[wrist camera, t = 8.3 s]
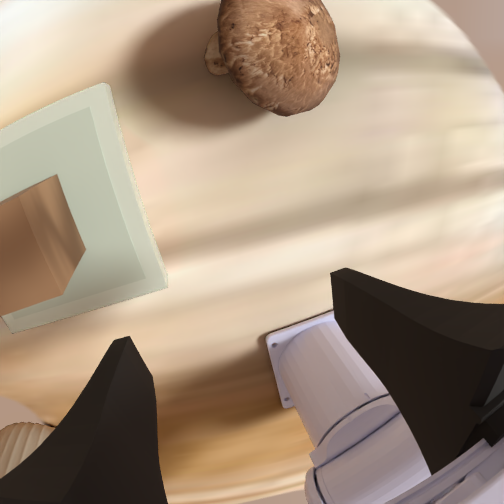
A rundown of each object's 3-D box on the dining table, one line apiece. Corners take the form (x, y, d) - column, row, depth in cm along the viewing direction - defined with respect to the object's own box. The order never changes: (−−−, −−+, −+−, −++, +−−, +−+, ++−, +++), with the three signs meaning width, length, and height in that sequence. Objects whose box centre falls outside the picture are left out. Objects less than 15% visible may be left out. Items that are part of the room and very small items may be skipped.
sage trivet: (167, 273, 20) (167, 288, 18) (19, 319, 18) (11, 334, 17) (109, 85, 15) (103, 81, 13) (-46, 164, 13) (-61, 169, 12)
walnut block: (86, 249, 16) (62, 294, 12) (26, 272, 16) (-7, 319, 11) (57, 173, 14) (18, 196, 10) (-4, 204, 14) (-50, 234, 9)
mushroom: (150, 84, 13) (256, 35, 9) (194, -21, 13) (284, -67, 9) (258, 144, 19) (355, 134, 15) (276, 46, 19) (359, 26, 15)
